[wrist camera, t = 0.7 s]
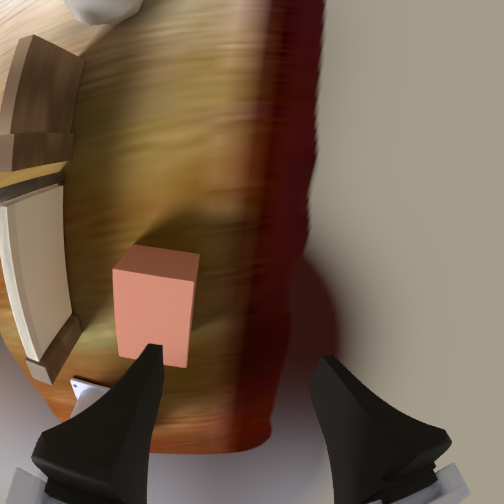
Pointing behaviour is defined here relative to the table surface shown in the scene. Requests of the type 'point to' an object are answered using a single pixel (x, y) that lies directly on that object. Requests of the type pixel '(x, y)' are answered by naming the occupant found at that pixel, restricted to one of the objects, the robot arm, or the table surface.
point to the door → (35, 266)
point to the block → (155, 301)
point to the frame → (40, 147)
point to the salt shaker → (103, 10)
